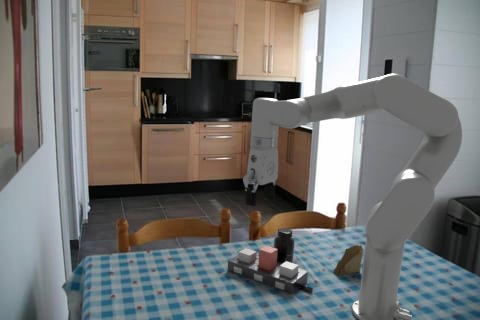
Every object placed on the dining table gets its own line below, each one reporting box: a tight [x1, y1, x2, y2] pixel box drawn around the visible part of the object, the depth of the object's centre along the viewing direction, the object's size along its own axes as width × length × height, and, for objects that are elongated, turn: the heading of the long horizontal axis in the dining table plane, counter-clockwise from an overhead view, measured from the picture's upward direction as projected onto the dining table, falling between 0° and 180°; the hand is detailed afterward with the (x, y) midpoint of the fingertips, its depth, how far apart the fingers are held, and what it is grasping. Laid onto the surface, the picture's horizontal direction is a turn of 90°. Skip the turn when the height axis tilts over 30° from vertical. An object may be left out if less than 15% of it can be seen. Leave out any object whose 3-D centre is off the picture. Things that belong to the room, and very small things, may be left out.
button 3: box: [238, 248, 258, 264], centre depth 138 cm, size 4×4×6 cm
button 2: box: [258, 245, 278, 271], centre depth 133 cm, size 4×4×6 cm
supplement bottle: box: [273, 227, 295, 264], centre depth 144 cm, size 7×7×12 cm
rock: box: [332, 244, 364, 276], centre depth 141 cm, size 11×9×10 cm
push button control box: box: [227, 253, 314, 295], centre depth 133 cm, size 27×10×4 cm, turn 56°
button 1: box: [279, 261, 300, 278], centre depth 130 cm, size 4×4×6 cm
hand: (260, 201), depth 124 cm, fingers open, 9 cm apart
